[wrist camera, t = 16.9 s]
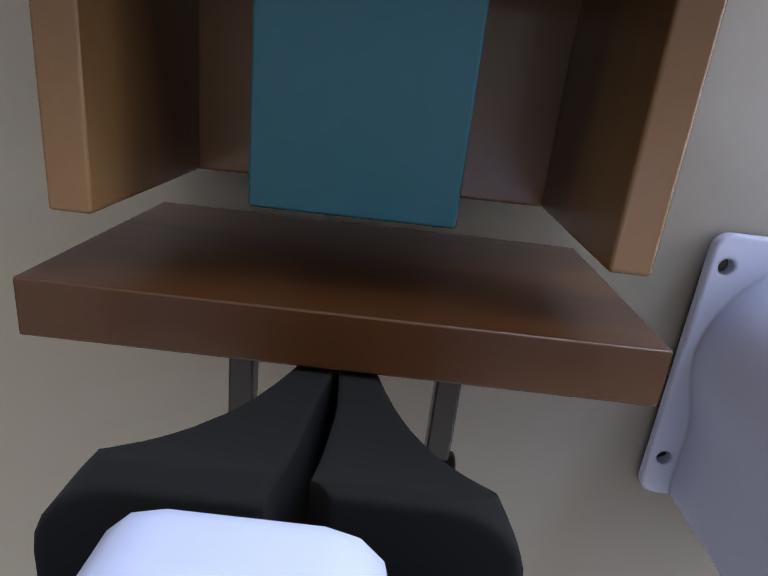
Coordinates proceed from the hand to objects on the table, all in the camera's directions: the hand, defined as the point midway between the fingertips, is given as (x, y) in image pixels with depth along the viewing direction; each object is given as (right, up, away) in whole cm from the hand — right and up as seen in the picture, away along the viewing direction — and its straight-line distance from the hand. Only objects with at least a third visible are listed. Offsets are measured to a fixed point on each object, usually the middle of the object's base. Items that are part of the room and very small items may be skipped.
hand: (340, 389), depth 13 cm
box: (+1, +7, +1) cm, 7 cm away
